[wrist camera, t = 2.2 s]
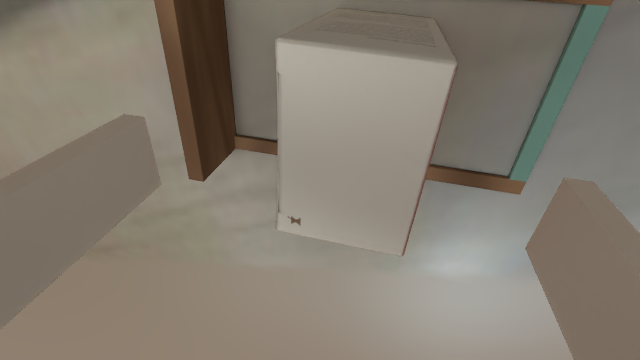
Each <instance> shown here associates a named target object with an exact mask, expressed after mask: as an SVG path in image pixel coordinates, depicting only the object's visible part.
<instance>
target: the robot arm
mask: <svg viewBox="0 0 640 360" xmlns="http://www.w3.org/2000/svg"><path fill="white" fill-rule="evenodd" d="M160 185H161V181H160V177H159V173H158V169H157V165H156V161H155V157H154V153H153V149H152V145H151V141H150V137H149V133H148V130H147V126H146V122H145V118H144V117H140V116H133V115H127V114H123V115H122V116H120V117H118V118H116V119H114V120H112V121H110V122H108V123H106V124H105V125H103V126H101V127H99V128H97V129H95V130H93V131H91V132H89V133H88V134H86V135H84V136H82V137H80V138H78V139H76V140H74V141H72V142H71V143H69V144H67V145H65V146H63V147H61V148H59V149H57V150H55V151H54V152H52V153H50V154H48V155H46V156H44V157H42V158H40V159H38V160H37V161H35V162H33V163H31V164H29V165H27V166H25V167H23V168H21V169H20V170H18V171H16V172H14V173H12V174H10V175H8V176H6V177H4V178H3V179H1V180H0V330H1V329H2V328H3V327H4V326H5V325H6V324H7V323H8V322H9V321H10V320H12V319H13V318H14V317H15V316H16V315H17V314H18V313H19V312H21V311H22V310H23V309H24V308H25V307H26V306H27V305H28V304H29V303H30V302H32V301H33V300H34V299H35V298H36V297H37V296H38V295H39V294H40V293H42V292H43V291H44V290H45V289H46V288H47V287H48V286H49V285H50V284H51V283H53V282H54V281H55V280H56V279H57V278H58V277H59V276H60V275H62V273H64V272H65V271H66V270H67V269H68V268H69V267H70V266H72V264H74V263H75V262H76V261H77V260H78V259H79V258H80V257H81V256H83V255H84V254H85V253H86V252H87V251H88V250H89V249H90V248H91V247H93V246H94V245H95V244H96V243H97V242H98V241H99V240H100V239H101V238H103V237H104V236H105V235H106V234H107V233H108V232H109V231H110V230H111V229H113V228H114V227H115V226H116V225H117V224H118V223H119V222H120V221H121V220H122V219H124V218H125V217H126V216H127V215H128V214H129V213H130V212H131V211H132V210H134V209H135V208H136V207H137V206H138V205H139V204H140V203H141V202H142V201H144V200H145V199H146V198H147V197H148V196H149V195H150V194H151V193H152V192H154V191H155V190H156V189H157V188H158V187H159V186H160ZM525 249H526V251H527V253H528V256H529V258H530V260H531V262H532V265H533V267H534V269H535V272H536V274H537V276H538V279H539V281H540V283H541V285H542V288H543V290H544V292H545V294H546V297H547V299H548V301H549V304H550V306H551V308H552V311H553V313H554V315H555V317H556V320H557V322H558V324H559V327H560V329H561V331H562V334H563V336H564V338H565V340H566V343H567V345H568V347H569V350H570V352H571V354H572V356H573V359H574V360H640V234H639V232H638V231H637V230H636V229H635V228H634V227H633V226H632V225H631V223H630V222H629V221H628V220H627V219H626V218H625V217H624V216H623V214H622V213H621V212H620V211H619V210H618V209H617V208H616V207H615V205H614V204H613V203H612V202H611V201H610V200H609V199H608V198H607V196H606V195H605V194H604V193H603V192H602V191H601V190H600V189H599V187H598V186H597V185H596V184H595V183H594V182H589V181H582V180H575V179H568V178H564V179H563V181H562V183H561V184H560V186H559V188H558V190H557V192H556V194H555V195H554V197H553V199H552V201H551V203H550V204H549V206H548V208H547V210H546V212H545V213H544V215H543V217H542V219H541V221H540V223H539V224H538V226H537V228H536V230H535V232H534V233H533V235H532V237H531V239H530V241H529V242H528V244H527V246H526V248H525Z"/></svg>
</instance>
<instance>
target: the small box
mask: <svg viewBox="0 0 640 360" xmlns="http://www.w3.org/2000/svg"><path fill="white" fill-rule="evenodd" d="M275 55H276V73H277V123H278V190H277V212H276V229H277V230H280V231H284V232H289V233H293V234H297V235H302V236H307V237H311V238H316V239H320V240H325V241H330V242H335V243H339V244H344V245H349V246H353V247H358V248H363V249H367V250H372V251H377V252H381V253H387V254H393V255H396V256H403V255H404V252H405V248H406V245H407V242H408V238H409V234H410V231H411V228H412V224H413V221H414V217H415V214H416V210H417V207H418V203H419V200H420V196H421V193H422V189H423V186H424V182H425V178H426V175H427V172H428V168H429V165H430V161H431V158H432V154H433V151H434V147H435V144H436V140H437V137H438V133H439V130H440V126H441V123H442V119H443V116H444V113H445V109H446V106H447V102H448V98H449V95H450V91H451V87H452V84H453V80H454V77H455V74H456V71H457V68H458V62H457V59H456V57H455V56H454V54H453V52H452V50H451V49H450V47H449V45H448V43H447V41H446V39H445V37H444V36H443V34H442V32H441V30H440V29H439V27H438V25H437V23H436V21H435V20H434V19H433V18H426V17H418V16H409V15H400V14H390V13H380V12H371V11H361V10H350V9H339V8H337V9H335V10H333V11H331V12H329V13H327V14H325V15H323V16H321V17H319V18H317V19H315V20H313V21H311V22H308V23H306V24H305V25H302V26H300V27H298V28H296V29H294V30H292V31H290V32H288V33H286V34H284V35H282V36H280V37H278V38H277V39H276V40H275Z"/></svg>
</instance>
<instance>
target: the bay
mask: <svg viewBox="0 0 640 360" xmlns="http://www.w3.org/2000/svg"><path fill="white" fill-rule="evenodd" d="M533 1H546V2H560V3H573V4H584V6H583V8H582V10H581V13H580V15H579V17H578V19H577V22H576V24H575V26H574V28H573V31H572V33H571V35H570V38H569V40H568V42H567V44H566V47H565V49H564V51H563V54H562V56H561V58H560V60H559V63H558V65H557V67H556V69H555V72H554V74H553V76H552V79H551V81H550V83H549V85H548V88H547V90H546V92H545V95H544V97H543V99H542V101H541V104H540V106H539V108H538V110H537V113H536V115H535V117H534V120H533V122H532V124H531V126H530V129H529V131H528V133H527V136H526V138H525V140H524V142H523V145H522V147H521V149H520V152H519V154H518V156H517V158H516V161H515V163H514V165H513V167H512V170H511V172H510V174H509V177H506V176H499V175H493V174H487V173H480V172H474V171H467V170H461V169H454V168H448V167H441V166H435V165H429V168H428V172H427V175H426V178H425V179H427V180H433V181H440V182H446V183H452V184H458V185H464V186H470V187H477V188H483V189H489V190H495V191H501V192H507V193H514V194H521V192H522V189H523V187H524V185H525V183H526V181H527V179H528V177H529V175H530V173H531V171H532V169H533V167H534V164H535V162H536V160H537V158H538V156H539V154H540V152H541V150H542V148H543V146H544V144H545V141H546V139H547V137H548V135H549V133H550V131H551V129H552V127H553V125H554V123H555V121H556V118H557V116H558V114H559V112H560V110H561V108H562V106H563V104H564V102H565V100H566V98H567V96H568V93H569V91H570V89H571V87H572V85H573V83H574V81H575V79H576V77H577V75H578V73H579V70H580V68H581V66H582V64H583V62H584V60H585V58H586V56H587V54H588V52H589V50H590V47H591V45H592V43H593V41H594V39H595V37H596V35H597V33H598V31H599V29H600V27H601V25H602V22H603V20H604V18H605V16H606V14H607V12H608V10H609V8H610V6H611V4H612V2H613V0H533ZM154 2H155V7H156V12H157V17H158V23H159V28H160V33H161V38H162V43H163V48H164V53H165V58H166V64H167V69H168V74H169V79H170V84H171V89H172V94H173V99H174V104H175V110H176V115H177V120H178V125H179V130H180V135H181V140H182V145H183V150H184V156H185V161H186V166H187V171H188V176H189V179H192V180H197V181H203V182H204V181H205V180H206V178H207V177H208V176H209V175H210V174H211V173H212V172H213V171H214V170H215V169H216V168H217V167H218V166H219V165H220V164H221V163H222V162H223V161H224V160H225V159H226V158H227V157H228V156H229V155H230V154H231V153H232V151H233V150H234V149H235V148H236V149H242V150H249V151H255V152H261V153H267V154H273V155H278V141H274V140H268V139H261V138H255V137H248V136H242V135H236V129H235V118H234V107H233V97H232V86H231V75H230V65H229V54H228V43H227V33H226V22H225V11H224V1H223V0H154Z"/></svg>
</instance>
